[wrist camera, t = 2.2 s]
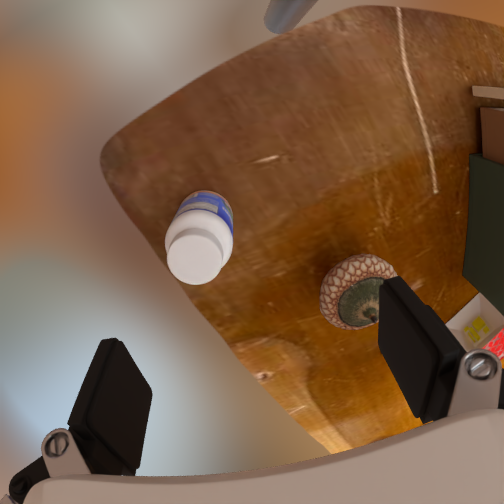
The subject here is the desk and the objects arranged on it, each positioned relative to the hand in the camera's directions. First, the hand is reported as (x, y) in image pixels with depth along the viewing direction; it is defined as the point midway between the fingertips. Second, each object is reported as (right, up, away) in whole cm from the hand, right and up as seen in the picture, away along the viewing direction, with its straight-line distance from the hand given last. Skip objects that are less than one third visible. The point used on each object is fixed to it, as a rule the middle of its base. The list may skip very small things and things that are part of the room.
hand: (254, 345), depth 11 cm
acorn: (+10, +2, +24) cm, 26 cm away
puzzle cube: (+34, -8, +30) cm, 46 cm away
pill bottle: (-5, +7, +20) cm, 22 cm away
